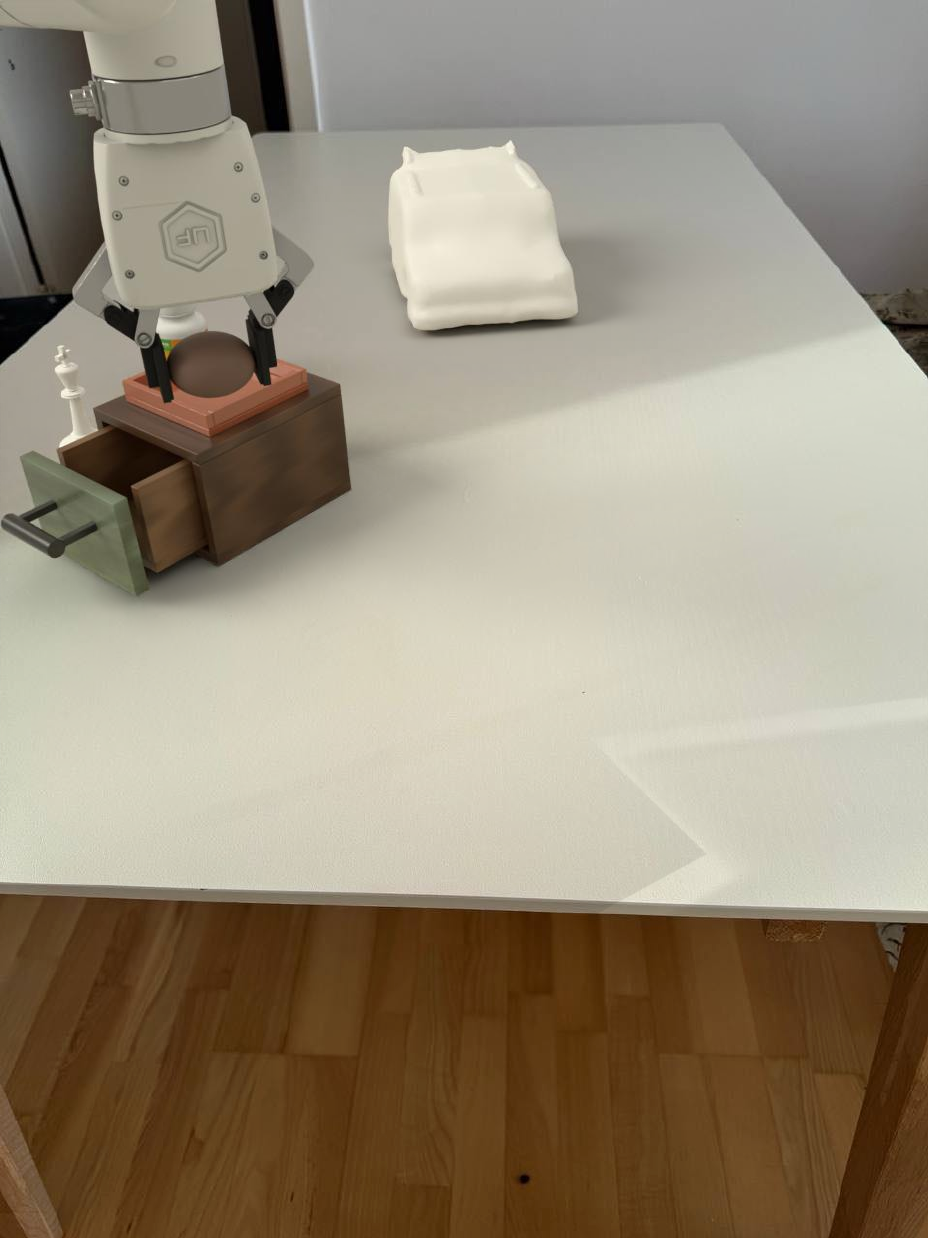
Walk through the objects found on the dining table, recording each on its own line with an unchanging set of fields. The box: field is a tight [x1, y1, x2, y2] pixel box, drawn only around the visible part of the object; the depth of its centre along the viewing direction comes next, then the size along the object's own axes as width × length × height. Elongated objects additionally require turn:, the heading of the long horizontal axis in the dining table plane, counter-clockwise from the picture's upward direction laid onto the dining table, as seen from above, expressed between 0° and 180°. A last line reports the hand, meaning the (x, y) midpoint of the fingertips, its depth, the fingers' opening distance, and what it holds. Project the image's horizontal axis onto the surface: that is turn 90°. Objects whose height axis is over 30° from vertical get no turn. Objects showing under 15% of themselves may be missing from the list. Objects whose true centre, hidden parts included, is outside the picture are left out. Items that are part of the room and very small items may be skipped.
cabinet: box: [92, 371, 352, 567], centre depth 90 cm, size 15×13×10 cm
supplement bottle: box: [156, 303, 209, 361], centre depth 108 cm, size 5×5×10 cm
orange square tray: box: [121, 358, 309, 437], centre depth 87 cm, size 10×10×2 cm
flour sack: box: [387, 139, 579, 331], centre depth 128 cm, size 19×30×13 cm, turn 9°
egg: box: [167, 330, 256, 398], centre depth 74 cm, size 6×6×4 cm
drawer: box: [0, 425, 208, 598], centre depth 84 cm, size 18×12×8 cm, turn 141°
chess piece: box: [54, 344, 98, 448], centre depth 98 cm, size 5×5×10 cm
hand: (214, 383), depth 75 cm, fingers closed on egg, 6 cm apart
